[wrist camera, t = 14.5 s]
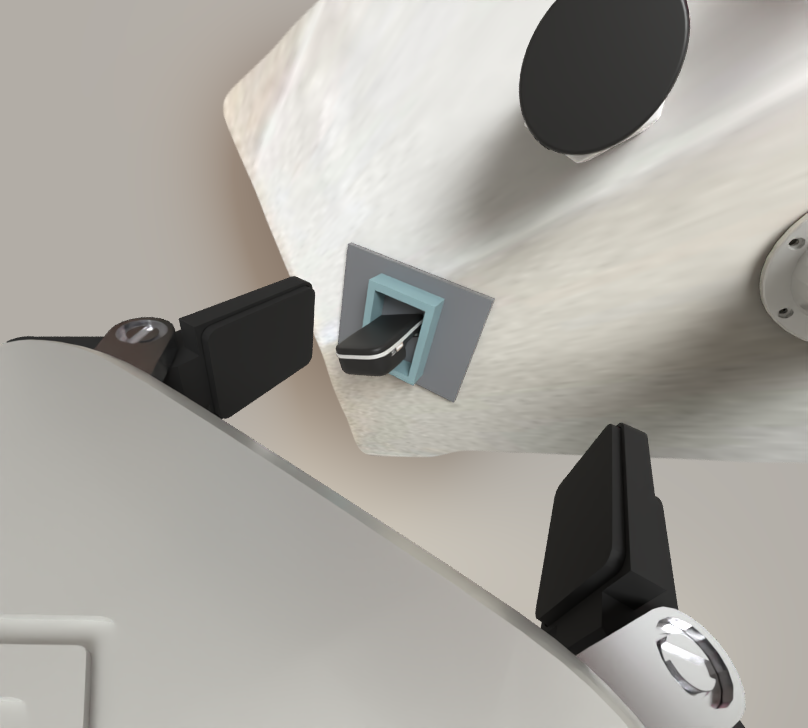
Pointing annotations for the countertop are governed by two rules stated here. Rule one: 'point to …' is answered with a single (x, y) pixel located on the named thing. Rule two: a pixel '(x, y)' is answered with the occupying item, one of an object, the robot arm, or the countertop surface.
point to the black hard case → (378, 344)
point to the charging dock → (416, 294)
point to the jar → (601, 72)
